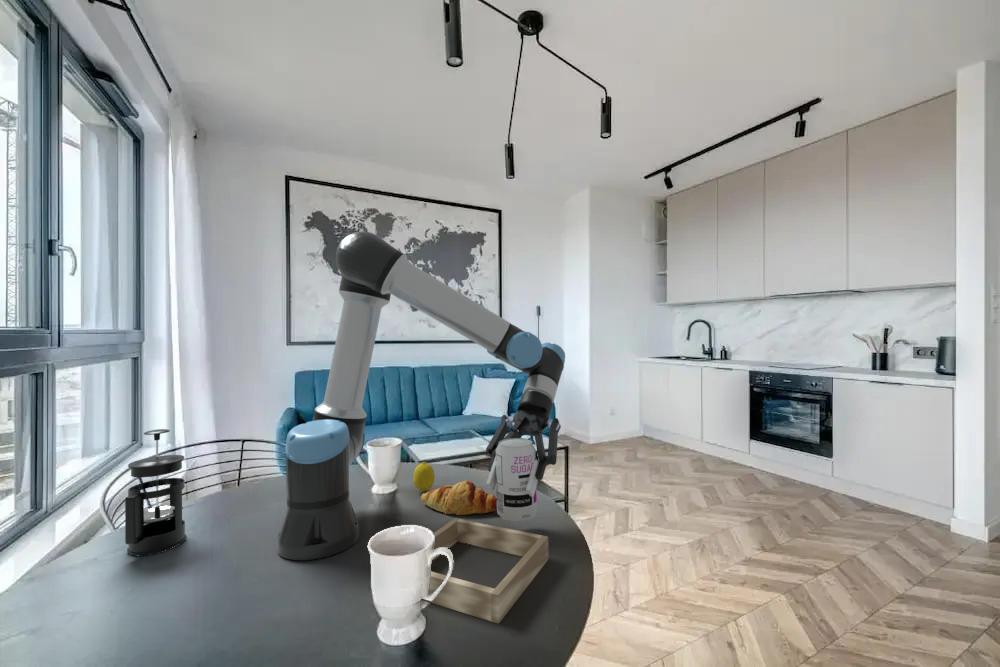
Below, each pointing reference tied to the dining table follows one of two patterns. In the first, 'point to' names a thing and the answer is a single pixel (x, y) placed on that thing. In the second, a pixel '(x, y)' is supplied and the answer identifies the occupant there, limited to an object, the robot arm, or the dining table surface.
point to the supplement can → (515, 479)
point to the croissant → (460, 499)
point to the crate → (503, 597)
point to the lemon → (423, 477)
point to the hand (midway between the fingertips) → (509, 490)
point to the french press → (159, 521)
